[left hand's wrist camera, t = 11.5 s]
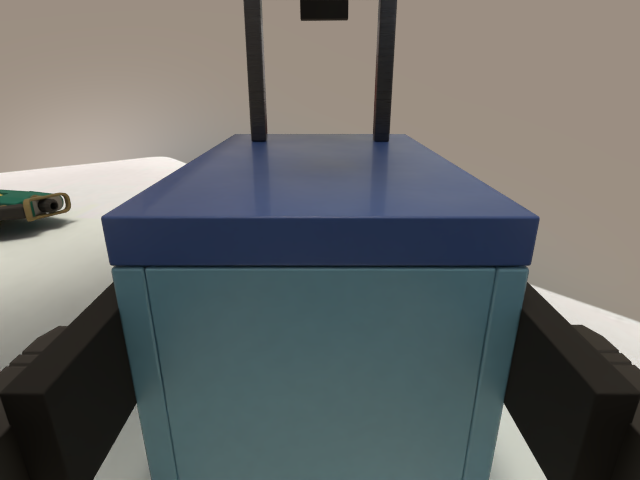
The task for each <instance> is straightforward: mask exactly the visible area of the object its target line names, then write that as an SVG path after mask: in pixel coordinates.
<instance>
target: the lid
mask: <svg viewBox="0 0 640 480" xmlns="http://www.w3.org/2000/svg"><path fill="white" fill-rule="evenodd" d="M396 10H397V0H379V9H378V32H377V55H376V78H375V101H374V124H373V134H267V115H266V92H265V68H264V45H263V21H262V0H244V17H245V35H246V52H247V71H248V89H249V107H250V125H251V134H235V135H233V136H231V137H230V138H228V139H226V140H225V141H223V142H222V143H220V144H219V145H217V146H215V147H214V148H212V149H210V150H209V151H207V152H205V153H204V154H202V155H201V156H199V157H197V158H196V159H194V160H192V161H191V162H189V163H188V164H186V165H184V166H183V167H181V168H180V169H178V170H176V171H175V172H173V173H171V174H170V175H168V176H167V177H165V178H163V179H162V180H160V181H158V182H157V183H155V184H154V185H152V186H150V187H149V188H147V189H146V190H144V191H142V192H141V193H139V194H137V195H136V196H134V197H133V198H131V199H129V200H128V201H126V202H124V203H123V204H121V205H120V206H118V207H116V208H115V209H113V210H112V211H110V212H108V213H107V214H105V215H103V216H102V217H101V221H102V226H103V231H104V236H105V242H106V247H107V252H108V257H109V263H110V265H284V266H528V265H530V264H531V261H532V256H533V250H534V245H535V240H536V235H537V230H538V224H539V216H537V215H535V214H534V213H532V212H531V211H529V210H527V209H526V208H524V207H522V206H521V205H519V204H518V203H516V202H514V201H513V200H511V199H509V198H508V197H506V196H505V195H503V194H501V193H500V192H498V191H497V190H495V189H493V188H492V187H490V186H488V185H487V184H485V183H484V182H482V181H480V180H479V179H477V178H475V177H474V176H472V175H471V174H469V173H467V172H466V171H464V170H462V169H461V168H459V167H458V166H456V165H454V164H453V163H451V162H449V161H448V160H446V159H445V158H443V157H441V156H440V155H438V154H437V153H435V152H433V151H432V150H430V149H428V148H427V147H425V146H423V145H422V144H420V143H419V142H417V141H415V140H414V139H412V138H411V137H409V136H407V135H406V134H389V133H390V116H391V98H392V80H393V62H394V45H395V27H396Z"/></svg>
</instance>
